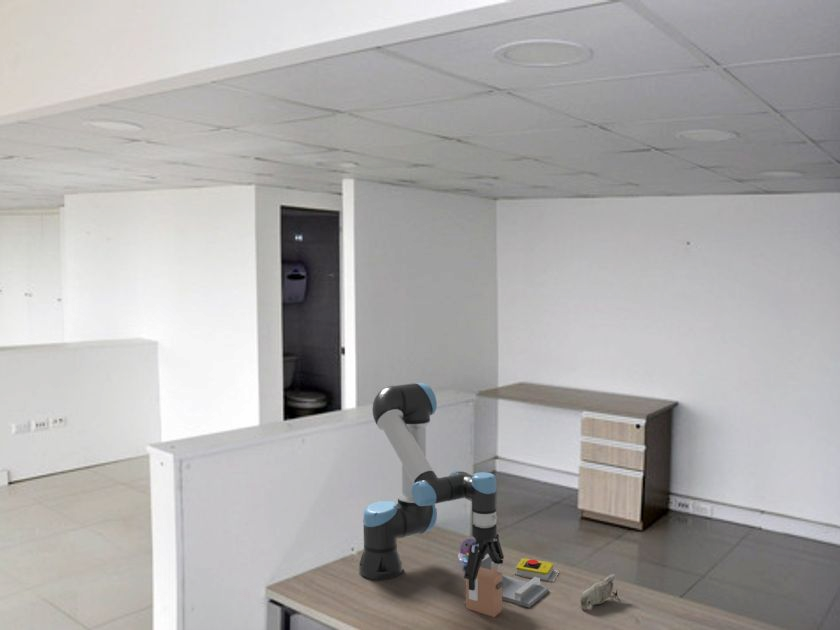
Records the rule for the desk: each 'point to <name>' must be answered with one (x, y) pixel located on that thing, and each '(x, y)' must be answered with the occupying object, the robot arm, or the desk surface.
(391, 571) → the robot arm
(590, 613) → the desk surface
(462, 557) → the cell model
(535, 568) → the emergency button
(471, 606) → the cabinet block
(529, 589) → the strip
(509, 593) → the gray bracket stand
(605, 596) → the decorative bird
